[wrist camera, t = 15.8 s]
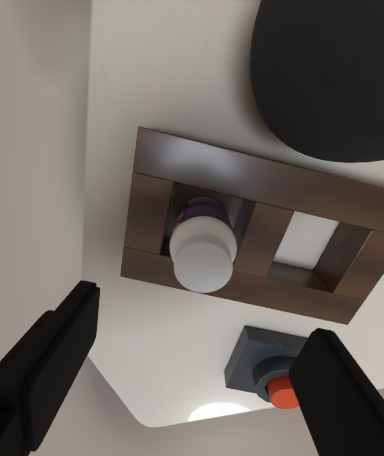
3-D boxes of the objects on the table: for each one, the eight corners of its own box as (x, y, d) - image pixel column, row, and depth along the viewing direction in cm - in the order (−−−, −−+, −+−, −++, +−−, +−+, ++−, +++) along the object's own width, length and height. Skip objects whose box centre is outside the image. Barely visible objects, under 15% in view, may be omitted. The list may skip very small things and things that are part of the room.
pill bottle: (174, 198, 22) (156, 236, 13) (225, 192, 22) (243, 228, 13) (181, 243, 24) (169, 304, 15) (228, 239, 24) (244, 299, 15)
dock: (327, 299, 26) (347, 325, 23) (131, 256, 25) (120, 276, 21) (393, 190, 21) (434, 201, 17) (149, 129, 20) (138, 126, 16)
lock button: (262, 390, 28) (265, 406, 26) (273, 371, 27) (278, 386, 25) (290, 396, 28) (295, 411, 27) (302, 377, 27) (309, 392, 25)
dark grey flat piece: (224, 372, 32) (227, 402, 29) (245, 325, 28) (251, 352, 25) (297, 386, 33) (310, 417, 29) (327, 342, 29) (346, 371, 25)
